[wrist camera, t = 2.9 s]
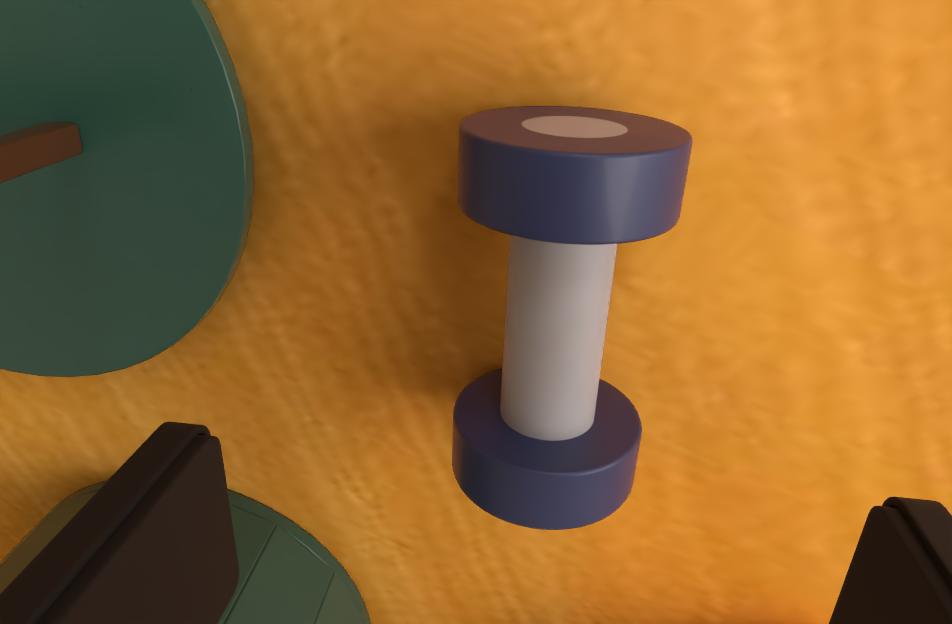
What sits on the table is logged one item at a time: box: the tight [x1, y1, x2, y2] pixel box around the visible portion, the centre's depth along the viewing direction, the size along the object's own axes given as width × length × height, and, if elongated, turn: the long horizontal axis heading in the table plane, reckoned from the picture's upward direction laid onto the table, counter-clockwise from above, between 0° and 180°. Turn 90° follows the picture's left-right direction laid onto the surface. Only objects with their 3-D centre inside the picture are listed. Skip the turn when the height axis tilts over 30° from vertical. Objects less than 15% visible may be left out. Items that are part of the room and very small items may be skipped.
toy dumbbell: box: [452, 106, 692, 530], centre depth 15 cm, size 8×4×4 cm, turn 178°
